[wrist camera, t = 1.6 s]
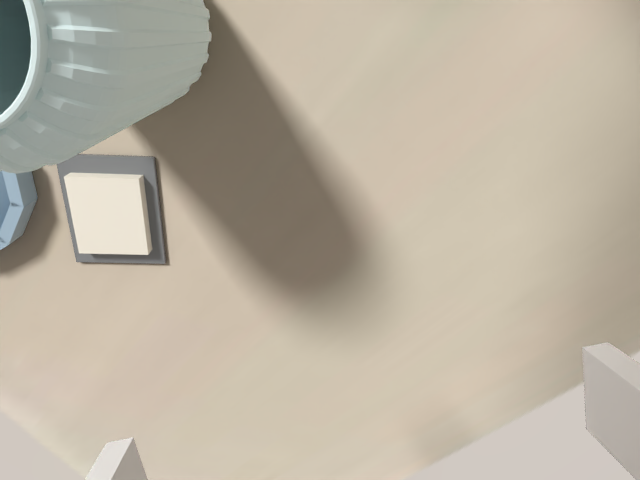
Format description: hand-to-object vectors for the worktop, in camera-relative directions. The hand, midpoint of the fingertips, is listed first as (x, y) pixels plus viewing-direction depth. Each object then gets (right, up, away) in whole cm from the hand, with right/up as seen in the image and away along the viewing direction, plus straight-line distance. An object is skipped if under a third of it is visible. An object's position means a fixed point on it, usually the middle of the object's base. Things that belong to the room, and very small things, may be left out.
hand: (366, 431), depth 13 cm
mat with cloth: (-20, +8, +27) cm, 34 cm away
